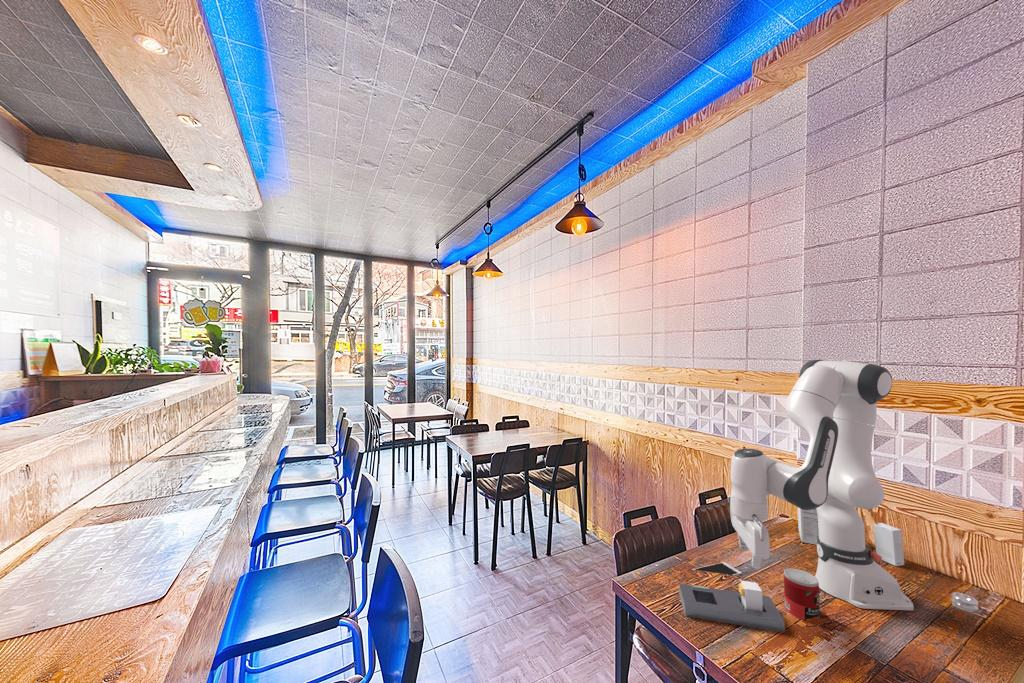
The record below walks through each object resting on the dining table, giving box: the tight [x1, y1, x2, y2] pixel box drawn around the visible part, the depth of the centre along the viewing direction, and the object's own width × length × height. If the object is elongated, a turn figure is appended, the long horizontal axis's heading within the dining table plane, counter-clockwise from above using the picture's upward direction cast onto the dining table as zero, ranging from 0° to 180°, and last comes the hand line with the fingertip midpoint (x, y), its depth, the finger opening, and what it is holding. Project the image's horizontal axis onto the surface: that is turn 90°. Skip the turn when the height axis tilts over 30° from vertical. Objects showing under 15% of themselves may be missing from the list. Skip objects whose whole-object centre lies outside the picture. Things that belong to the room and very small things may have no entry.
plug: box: [738, 580, 763, 612], centre depth 104 cm, size 5×4×8 cm
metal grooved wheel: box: [950, 591, 980, 614], centre depth 109 cm, size 5×3×5 cm
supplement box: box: [797, 507, 819, 546], centre depth 149 cm, size 13×13×18 cm
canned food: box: [783, 567, 821, 623], centre depth 105 cm, size 8×8×11 cm
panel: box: [678, 583, 786, 633], centre depth 106 cm, size 24×10×4 cm, turn 75°
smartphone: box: [691, 561, 743, 576], centre depth 126 cm, size 7×15×1 cm, turn 109°
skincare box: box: [873, 522, 905, 567], centre depth 133 cm, size 6×4×12 cm
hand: (749, 558), depth 105 cm, fingers open, 8 cm apart
